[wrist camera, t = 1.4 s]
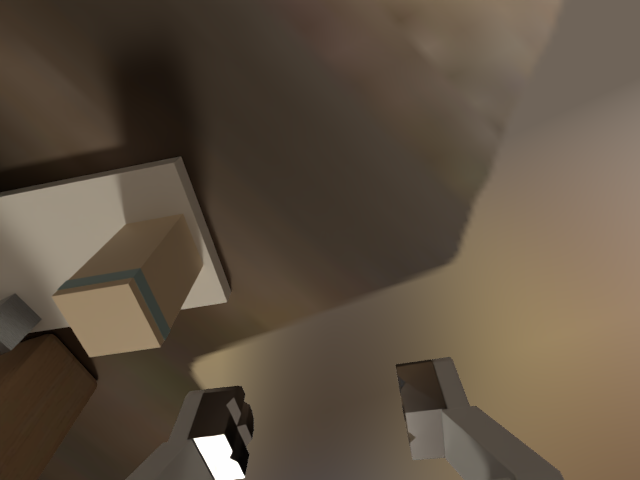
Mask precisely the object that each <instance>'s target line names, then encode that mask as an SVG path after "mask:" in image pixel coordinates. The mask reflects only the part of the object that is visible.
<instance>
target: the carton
mask: <svg viewBox="0 0 640 480" xmlns="http://www.w3.org/2000/svg"><path fill="white" fill-rule="evenodd" d="M202 267H203V263H202V260H201V258H200V255H199V253H198V250H197V248H196V245H195V243H194V240H193V238H192V235H191V232H190V230H189V227H188V225H187V222H186V220H185V217H184V215H183V214H178V215H173V216H168V217H162V218H157V219H151V220H146V221H140V222H135V223H129V224H125V225H124V226H123V227H122V228H121V229H120V230H119V231H118V232H117V233H116V234H115V235H114V236H113V237H112V238H111V239H110V240H109V241H108V242H107V243H106V244H105V245H104V246H103V247H102V248H101V249H100V250H99V251H98V252H97V253H96V254H95V255H94V256H92V257H91V258H90V259H89V260H88V261H87V262H86V263H85V264H84V265H83V266H82V267H81V268H80V269H79V270H78V271H77V272H76V273H75V274H74V275H73V276H72V277H71V278H70V279H69V280H67V281H65V282H64V283H63V284H62V285H61V286H60V287H59V288H58V289H57V291H56V292H55V293H54V294H53V295H52V296H51V297H52V299H53V300H54V302H55V303H56V305H57V306H58V308H59V310H60V311H61V313H62V314H63V316H64V318H65V319H66V321H67V322H68V324H69V325H70V327H71V329H72V330H73V332H74V333H75V335H76V337H77V338H78V340H79V341H80V343H81V344H82V346H83V348H84V349H85V351H86V352H87V354H88V356H89V357H95V356H102V355H109V354H116V353H123V352H130V351H137V350H144V349H151V348H157V347H161V345H162V343H163V342H164V340H166V338H167V336H168V334H169V332H170V328H171V326H172V324H173V323H174V321H175V319H176V317H177V315H178V313H179V311H180V309H181V307H182V305H183V303H184V302H185V300H186V298H187V296H188V294H189V292H190V290H191V288H192V286H193V284H194V283H195V281H196V279H197V277H198V275H199V273H200V271H201V269H202Z"/></svg>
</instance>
